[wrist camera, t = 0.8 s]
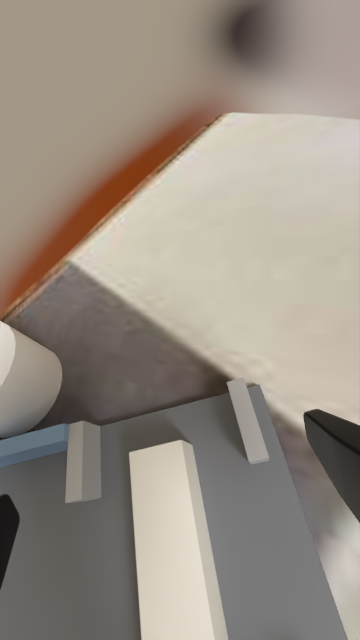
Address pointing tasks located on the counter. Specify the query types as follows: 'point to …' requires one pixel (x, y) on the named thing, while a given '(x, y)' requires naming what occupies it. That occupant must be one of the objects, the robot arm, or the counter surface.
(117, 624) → the board
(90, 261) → the counter surface
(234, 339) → the counter surface
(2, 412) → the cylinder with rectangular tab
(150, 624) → the long cream plank
